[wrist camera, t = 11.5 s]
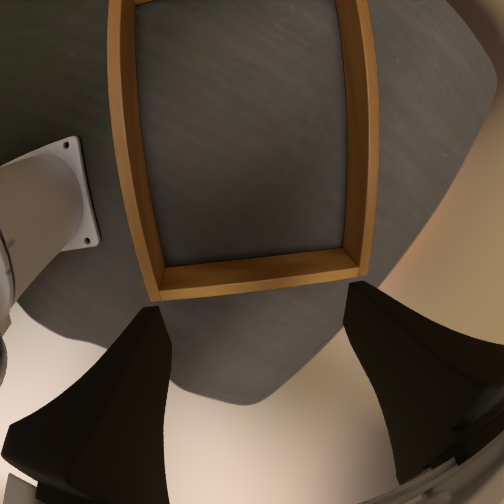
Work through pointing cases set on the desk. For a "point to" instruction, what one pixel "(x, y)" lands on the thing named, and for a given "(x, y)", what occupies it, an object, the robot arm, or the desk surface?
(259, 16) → the desk surface
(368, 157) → the wooden frame
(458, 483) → the robot arm
